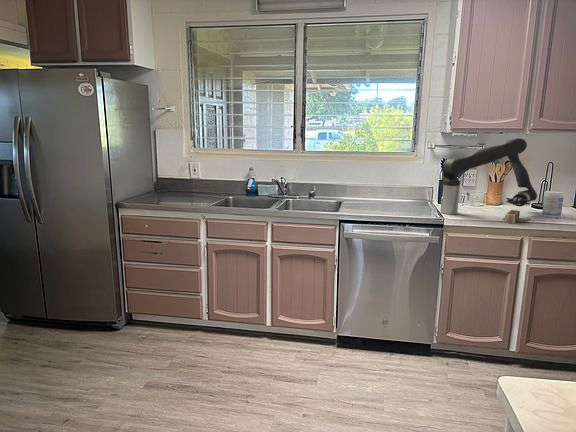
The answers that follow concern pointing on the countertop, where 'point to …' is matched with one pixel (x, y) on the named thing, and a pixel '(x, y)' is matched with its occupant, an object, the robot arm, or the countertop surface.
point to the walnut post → (512, 216)
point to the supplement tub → (552, 204)
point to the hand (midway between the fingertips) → (514, 203)
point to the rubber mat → (521, 220)
